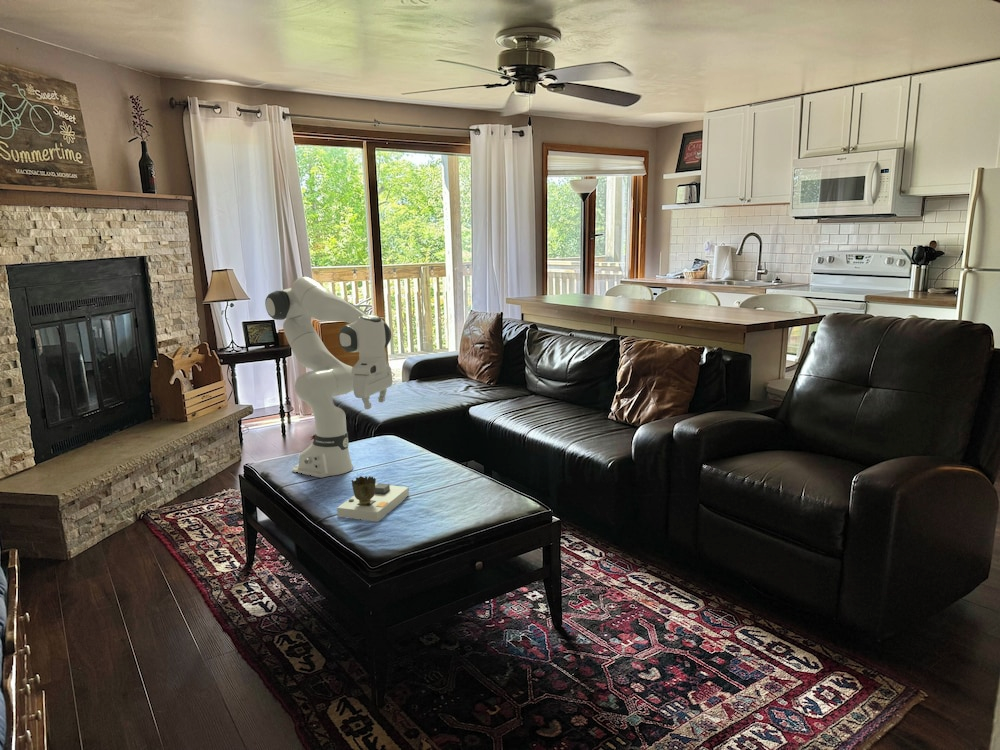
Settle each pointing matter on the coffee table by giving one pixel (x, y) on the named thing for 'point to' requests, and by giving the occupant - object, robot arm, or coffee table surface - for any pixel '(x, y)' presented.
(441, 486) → the coffee table surface
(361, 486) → the brown textured goblet
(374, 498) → the panel
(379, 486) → the block
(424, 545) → the coffee table surface
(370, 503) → the block
